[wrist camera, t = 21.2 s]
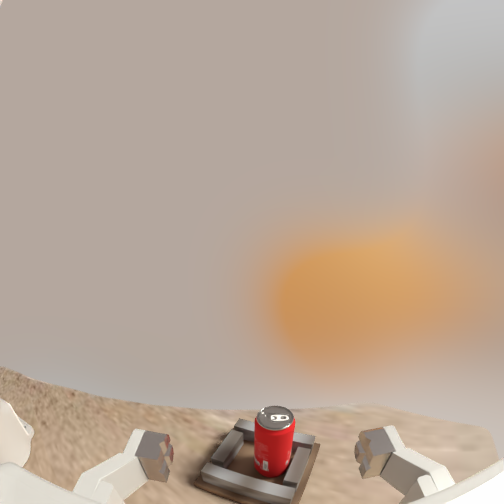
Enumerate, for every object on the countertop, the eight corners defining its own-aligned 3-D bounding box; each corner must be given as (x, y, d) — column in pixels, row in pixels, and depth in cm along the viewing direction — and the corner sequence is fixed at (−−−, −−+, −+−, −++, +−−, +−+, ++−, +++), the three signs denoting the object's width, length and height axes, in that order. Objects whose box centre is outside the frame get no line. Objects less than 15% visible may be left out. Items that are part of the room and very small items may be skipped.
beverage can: (254, 455, 37) (254, 404, 35) (287, 454, 37) (293, 403, 34) (253, 479, 32) (254, 431, 30) (289, 479, 32) (297, 430, 29)
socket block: (194, 485, 31) (190, 472, 30) (237, 428, 45) (236, 413, 44) (292, 517, 25) (296, 506, 25) (319, 447, 39) (322, 433, 38)
